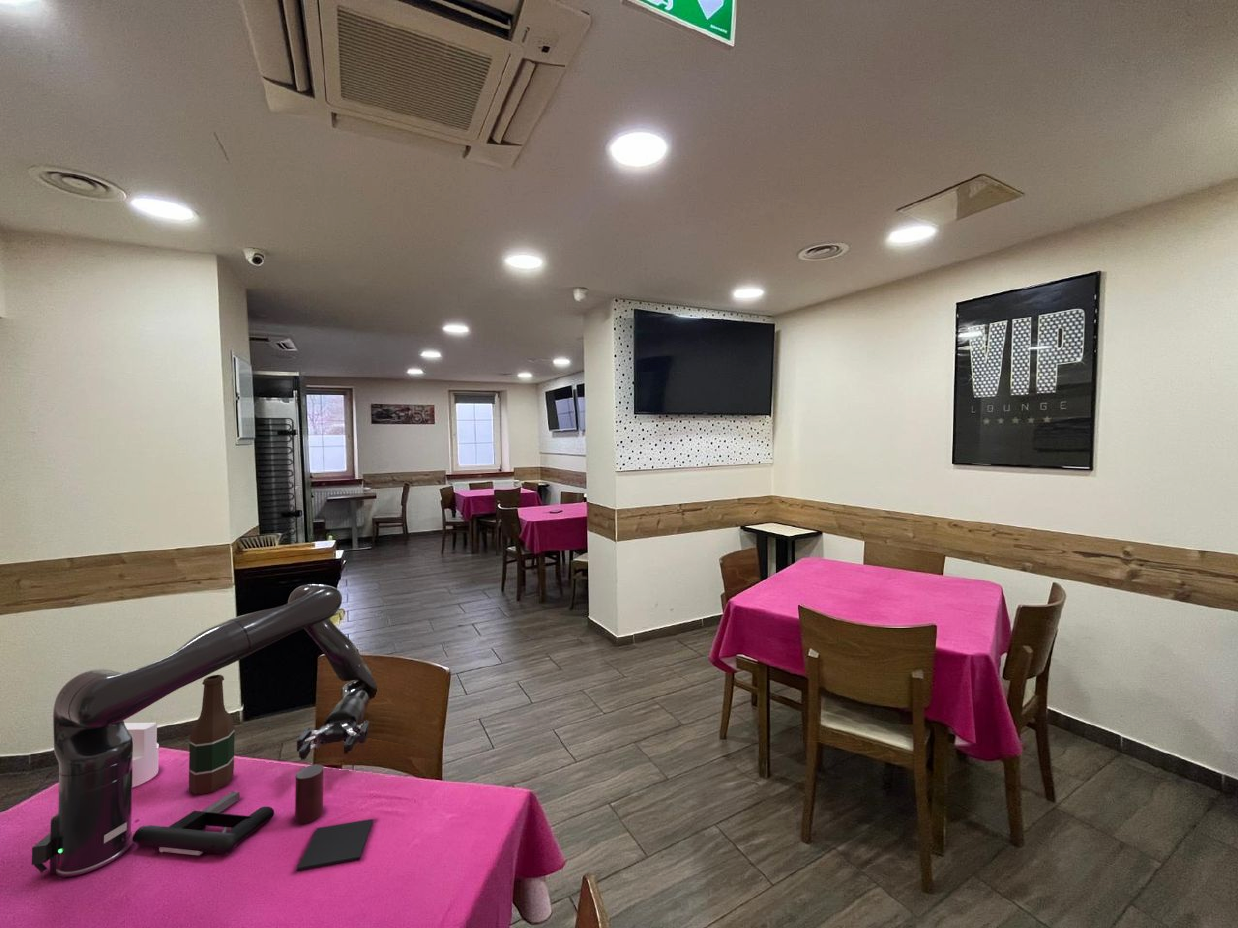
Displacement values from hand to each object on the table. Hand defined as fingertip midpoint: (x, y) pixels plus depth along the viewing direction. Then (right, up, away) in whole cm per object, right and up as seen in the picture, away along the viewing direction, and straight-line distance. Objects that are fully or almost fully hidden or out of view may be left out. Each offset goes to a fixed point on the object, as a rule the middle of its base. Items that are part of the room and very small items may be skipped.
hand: (324, 752), depth 108 cm
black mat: (+13, -7, -17) cm, 22 cm away
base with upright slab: (-46, -8, +3) cm, 47 cm away
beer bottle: (-26, -8, +1) cm, 27 cm away
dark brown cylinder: (+2, -8, -9) cm, 12 cm away
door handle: (-14, -8, -12) cm, 20 cm away
